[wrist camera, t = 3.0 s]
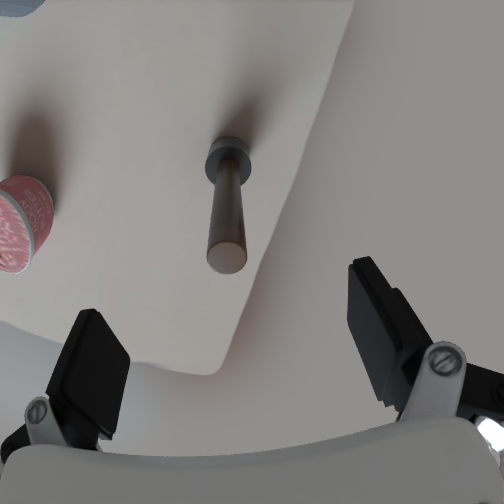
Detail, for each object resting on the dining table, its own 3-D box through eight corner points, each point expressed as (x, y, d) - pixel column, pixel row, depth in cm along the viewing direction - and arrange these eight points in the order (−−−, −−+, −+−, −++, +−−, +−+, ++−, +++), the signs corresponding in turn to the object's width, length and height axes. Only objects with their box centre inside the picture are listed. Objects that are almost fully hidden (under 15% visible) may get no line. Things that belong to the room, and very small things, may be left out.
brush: (243, 132, 28) (264, 208, 12) (251, 169, 30) (277, 284, 14) (204, 141, 28) (169, 228, 12) (213, 176, 30) (196, 299, 14)
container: (5, 159, 26) (-34, 182, 19) (66, 175, 28) (29, 203, 21) (6, 228, 31) (-25, 259, 24) (61, 248, 33) (34, 285, 26)
